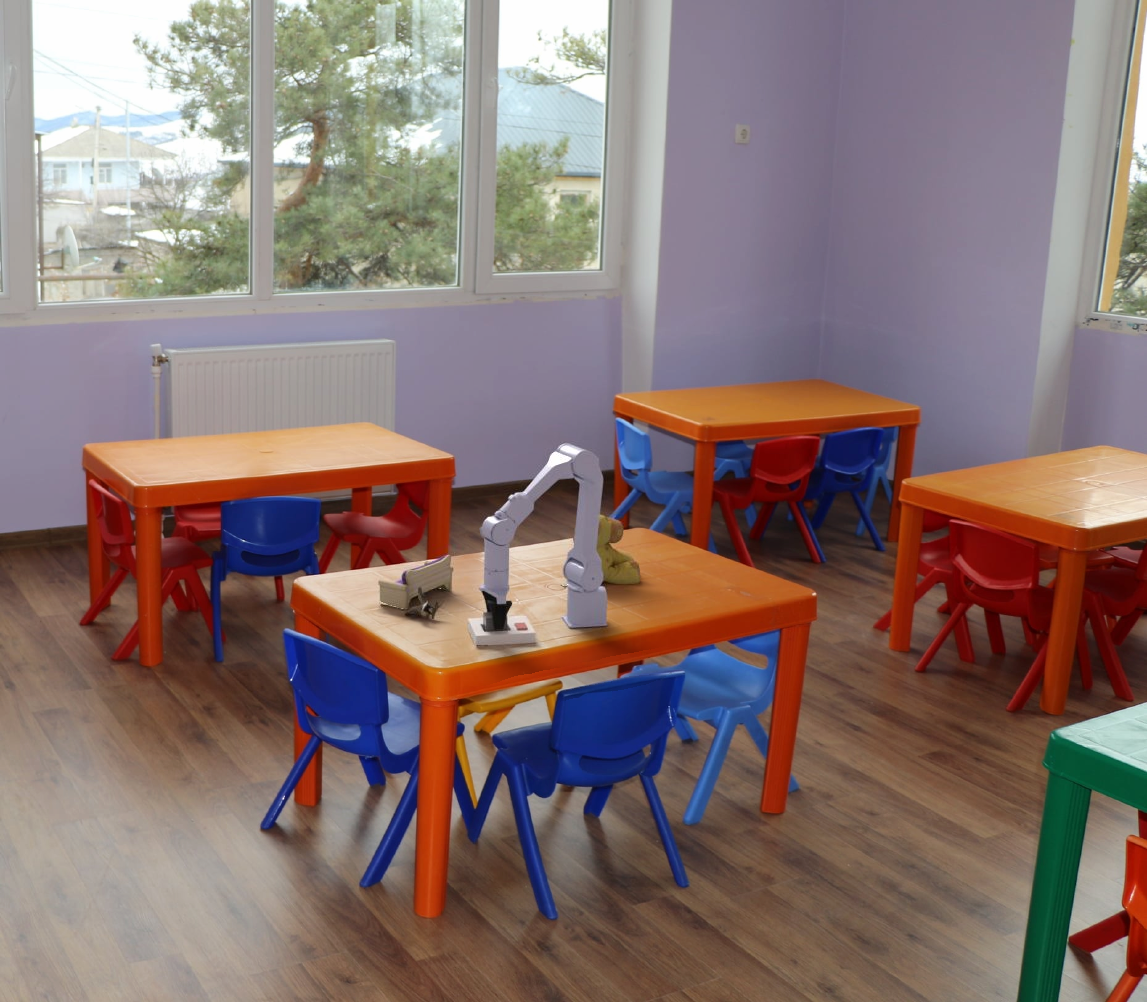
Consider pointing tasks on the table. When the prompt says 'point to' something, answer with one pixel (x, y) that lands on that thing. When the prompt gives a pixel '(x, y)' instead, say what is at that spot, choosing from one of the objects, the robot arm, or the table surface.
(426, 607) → the eagle figurine
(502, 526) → the robot arm
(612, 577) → the giraffe plush
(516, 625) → the socket
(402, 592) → the toy sofa
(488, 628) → the plug
